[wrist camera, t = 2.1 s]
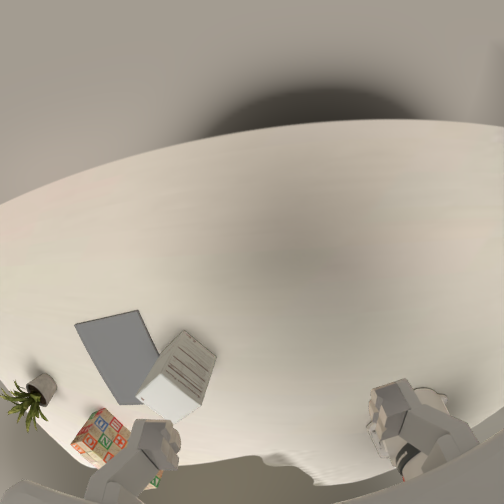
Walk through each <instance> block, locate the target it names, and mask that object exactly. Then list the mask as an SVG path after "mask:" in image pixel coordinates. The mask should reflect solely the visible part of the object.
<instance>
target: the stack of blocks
mask: <svg viewBox="0 0 504 504" xmlns="http://www.w3.org/2000/svg"><path fill="white" fill-rule="evenodd" d="M130 434H131V432H130V431H129V430H128V429H126V428H125V427H124V426H123V425H122V424H121V423H120V422H119V421H118V420H117V419H116V418H115V417H114V416H113V415H112V414H111V413H110V412H109V411H108V410H107V409H106V408H103V409H101V410H99V411H97V412H94V413H93V414H92V415H91V416H90V418H89V419H88V421H87V422H86V423H85V425H84V426H83V427H82V429H81V430H80V431H79V433H78V434H77V435H76V437H75V439H74V440H73V441H72V443H71V444H70V445H71V446H72V447H73V448H75V449H76V450H77V451H78V452H79V453H80V454H81V455H82V456H83V457H84V458H85V459H86V460H87V461H89V462H90V463H91V464H92V465H94V466H95V467H96V468H98V469H100V468H101V467H102V466H104V465H105V464H106V463H107V462H108V461H109V460H110V459H112V458H113V457H114V456H115V455H116V454H117V453H118V452H120V451H121V450H122V449H123V448H127V444H128V441H129V437H130ZM163 471H164V470H159V472H158V473H157V474H156V476H155V477H154V478H153V479H152V480H151V482H150V483H149V484H148V485H147V487H146V488H145V489H152V488H157V487H158V485H159V482H160V478H161V476H162V473H163Z"/></svg>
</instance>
